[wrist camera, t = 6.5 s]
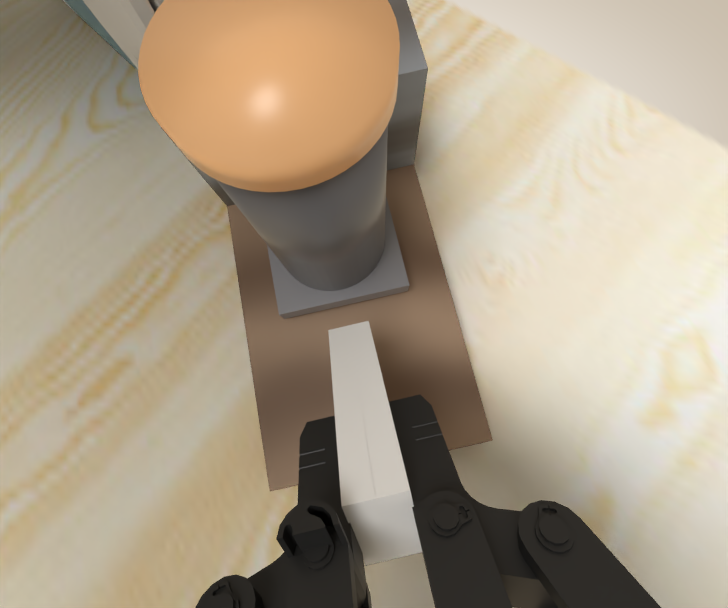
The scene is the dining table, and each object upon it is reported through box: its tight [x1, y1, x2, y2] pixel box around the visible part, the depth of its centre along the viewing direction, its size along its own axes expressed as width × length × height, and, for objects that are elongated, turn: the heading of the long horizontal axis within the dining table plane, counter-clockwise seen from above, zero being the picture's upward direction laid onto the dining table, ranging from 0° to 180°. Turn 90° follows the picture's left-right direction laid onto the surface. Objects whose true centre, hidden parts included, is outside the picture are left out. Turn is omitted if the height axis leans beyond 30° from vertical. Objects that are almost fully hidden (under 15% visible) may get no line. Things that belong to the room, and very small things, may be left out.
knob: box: [138, 0, 409, 319], centre depth 13 cm, size 6×6×11 cm
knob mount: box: [161, 0, 492, 491], centre depth 16 cm, size 18×10×8 cm, turn 13°
